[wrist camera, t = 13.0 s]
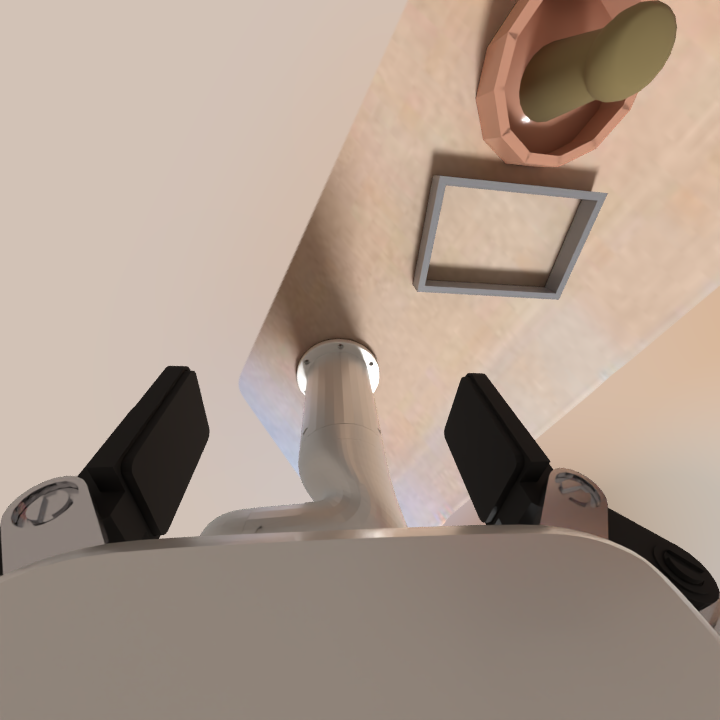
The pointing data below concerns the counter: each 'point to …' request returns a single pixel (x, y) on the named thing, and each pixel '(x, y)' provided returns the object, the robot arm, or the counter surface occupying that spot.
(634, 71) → the olive pestle
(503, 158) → the bowl
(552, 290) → the grey rectangular frame
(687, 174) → the counter surface
